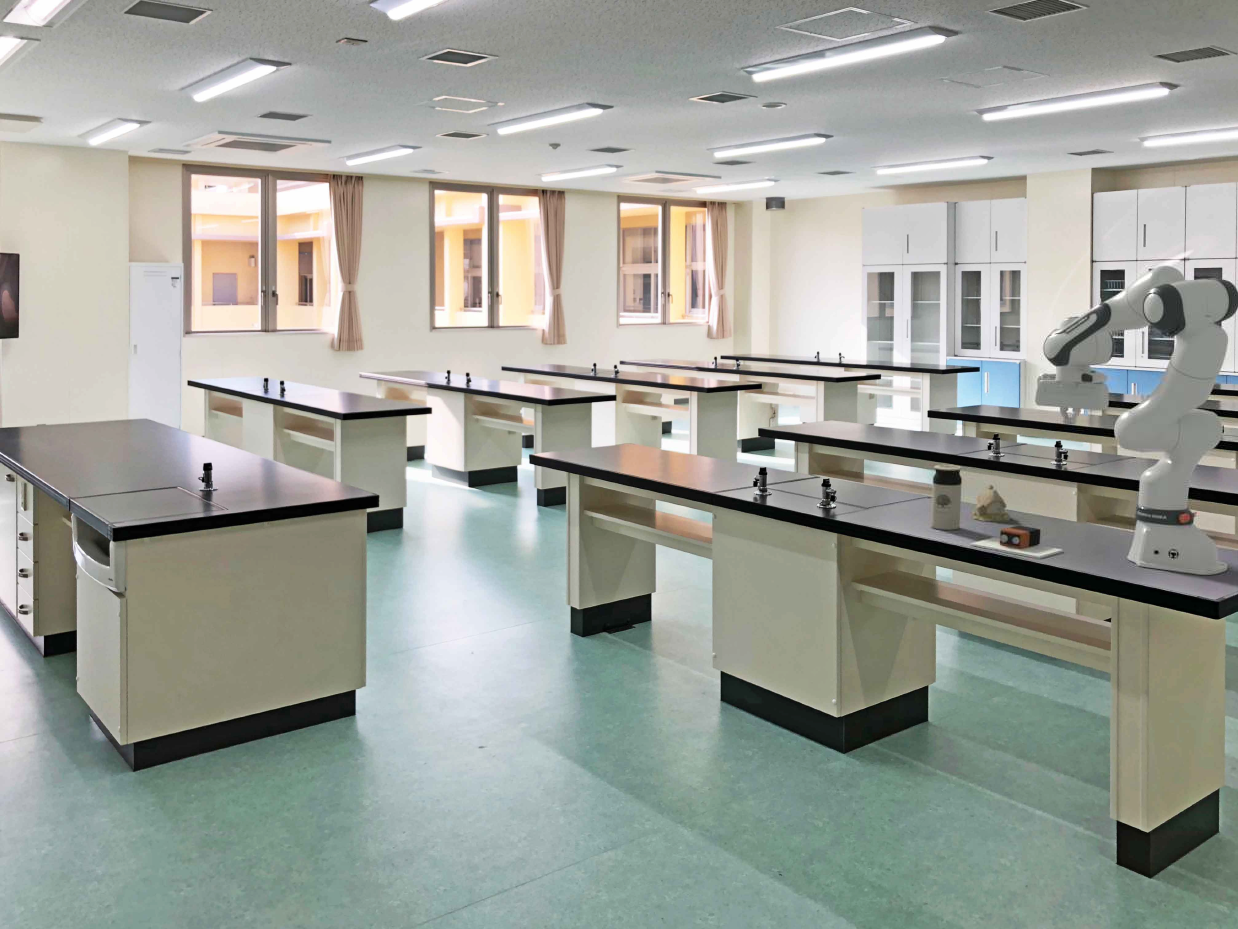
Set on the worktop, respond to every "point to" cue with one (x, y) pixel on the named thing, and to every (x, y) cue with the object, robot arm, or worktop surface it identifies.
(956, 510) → the travel mug
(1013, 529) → the battery
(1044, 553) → the bench mat
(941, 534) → the worktop surface
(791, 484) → the worktop surface
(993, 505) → the ceramic model
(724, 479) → the worktop surface
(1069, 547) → the worktop surface
